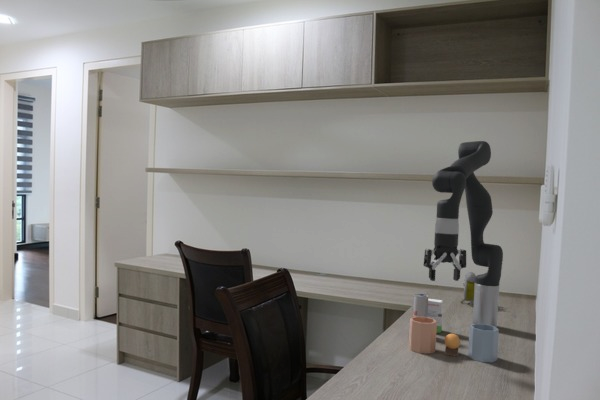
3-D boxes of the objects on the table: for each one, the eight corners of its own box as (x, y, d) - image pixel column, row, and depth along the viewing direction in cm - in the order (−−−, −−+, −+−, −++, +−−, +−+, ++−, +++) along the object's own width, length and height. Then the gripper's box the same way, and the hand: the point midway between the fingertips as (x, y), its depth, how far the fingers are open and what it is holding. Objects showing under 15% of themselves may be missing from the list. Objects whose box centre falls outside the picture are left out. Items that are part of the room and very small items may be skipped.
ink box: (442, 330, 190) (443, 299, 190) (440, 333, 185) (442, 302, 185) (419, 326, 193) (421, 297, 193) (417, 330, 189) (419, 299, 188)
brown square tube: (445, 350, 166) (445, 344, 166) (457, 352, 164) (458, 346, 164) (445, 354, 162) (445, 348, 162) (457, 356, 161) (458, 350, 161)
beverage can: (416, 331, 186) (418, 292, 185) (428, 335, 183) (430, 294, 182) (409, 334, 182) (411, 294, 181) (422, 338, 179) (424, 297, 178)
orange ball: (448, 345, 167) (449, 330, 166) (462, 349, 163) (463, 334, 163) (441, 348, 163) (441, 333, 163) (455, 352, 160) (455, 337, 159)
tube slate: (476, 351, 166) (477, 322, 166) (500, 358, 160) (502, 328, 160) (464, 356, 160) (466, 326, 160) (489, 364, 154) (490, 332, 154)
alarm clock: (475, 307, 230) (477, 275, 229) (460, 305, 232) (461, 273, 232) (474, 301, 241) (476, 271, 241) (460, 300, 243) (461, 270, 243)
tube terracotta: (417, 343, 172) (419, 315, 172) (439, 350, 166) (440, 320, 166) (404, 348, 166) (406, 319, 166) (426, 355, 160) (427, 324, 160)
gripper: (460, 231, 168) (457, 278, 168) (421, 230, 165) (419, 278, 165) (472, 233, 161) (469, 282, 161) (432, 232, 158) (429, 282, 158)
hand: (444, 280), depth 163 cm, fingers open, 8 cm apart
